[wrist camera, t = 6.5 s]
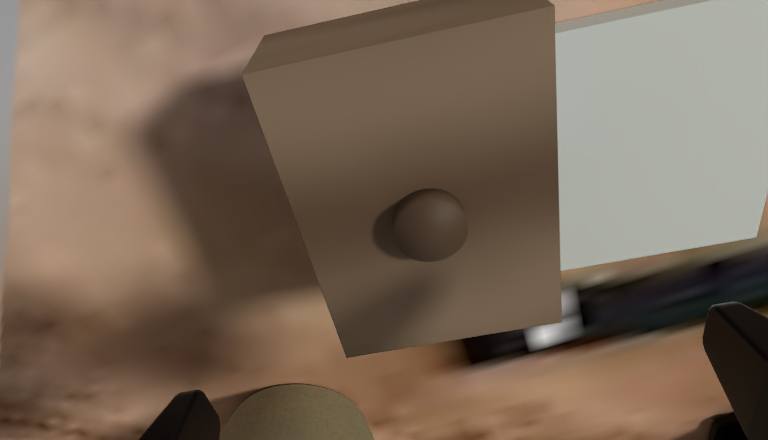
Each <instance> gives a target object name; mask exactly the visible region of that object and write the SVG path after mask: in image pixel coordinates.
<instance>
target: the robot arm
mask: <svg viewBox="0 0 768 440" xmlns="http://www.w3.org/2000/svg"><path fill="white" fill-rule="evenodd" d="M703 346H704V349H705V352H706V354H707V356H708V358H709V360H710V362H711V364H712V367H713V369H714V371H715V373H716V375H717V377H718V379H719V381H720V383H721V385H722V387H723V389H724V392H725V394H726V396H727V398H728V400H729V402H730V404H731V406H732V408H733V410H734V412H735V414H736V415H729V416H723V417H719V418H717V419H716V420H714V422H713V425H712V429H711V433H710V437H709V440H768V318H767V317H765V316H763V315H762V314H760V313H758V312H756V311H754V310H753V309H751V308H749V307H747V306H745V305H743V304H741V303H738V302H728V303H722V304H716V305H712V306H711V307H710V308H709V310H708V314H707V319H706V324H705V328H704V333H703ZM219 438H220V420H219V417H218V414H217V413H216V411H215V409H214V408H213V406H212V405H211V403H210V402H209V400H208V398H207V397H206V395H205V394H204V393H203V392H202V391H200V390H193V391H187V392H182V393H179V394H178V395H176V396H175V397H174V398H173V399H172V401H171V402H170V403H169V404H168V405H167V407H166V408H165V409H164V410H163V411H162V413H161V414H160V415H159V416H158V417H157V418H156V420H155V421H154V422H153V423H152V424H151V426H150V427H149V428H148V429H147V430H146V432H145V433H144V434H143V435H142V436H141V437H140V439H139V440H219Z"/></svg>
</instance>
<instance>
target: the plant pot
mask: <svg viewBox="0 0 768 440" xmlns="http://www.w3.org/2000/svg"><path fill="white" fill-rule="evenodd" d="M219 440H374V438H373V436H372V433H371V431H370V429H369V427H368V425H367V423H366V421H365V419H364V416H363V414H362V412H361V411H360V410H359V408H358V407H357V406H356V405H355V404H354V403H353V402H352V401H351V400H349V399H348V398H346V397H345V396H343V395H342V394H340V393H337V392H335V391H333V390H330V389H327V388H323V387H319V386H314V385H305V384H290V385H280V386H274V387H270V388H267V389H264V390H262V391H259V392H257V393H255V394H253V395H252V396H250V397H248V398H247V399H246V400H244V401H243V402H242V403H241V404H240V405H239V406H238V408H237V409H236V410H235V412H234V413H233V414H232V415H231V417H230V418H229V420H228V421H227V422H226V424H225V425H224V427H223V428H222V429H221V431H220V438H219Z"/></svg>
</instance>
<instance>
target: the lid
mask: <svg viewBox="0 0 768 440" xmlns="http://www.w3.org/2000/svg"><path fill="white" fill-rule="evenodd" d="M242 77H243V80H244V83H245V85H246V88H247V91H248V93H249V96H250V99H251V101H252V104H253V107H254V109H255V112H256V115H257V118H258V120H259V123H260V126H261V128H262V131H263V134H264V136H265V139H266V142H267V145H268V147H269V150H270V153H271V155H272V158H273V161H274V163H275V166H276V169H277V171H278V174H279V177H280V180H281V182H282V185H283V188H284V190H285V193H286V196H287V198H288V201H289V204H290V206H291V209H292V212H293V215H294V217H295V220H296V223H297V225H298V228H299V231H300V233H301V236H302V239H303V242H304V244H305V247H306V250H307V252H308V255H309V258H310V260H311V263H312V266H313V268H314V271H315V274H316V277H317V279H318V282H319V285H320V287H321V290H322V293H323V295H324V298H325V301H326V303H327V306H328V309H329V312H330V314H331V317H332V320H333V322H334V325H335V328H336V330H337V333H338V336H339V339H340V341H341V344H342V347H343V349H344V352H345V355H346V357H347V358H348V357H354V356H360V355H366V354H372V353H378V352H384V351H390V350H396V349H403V348H409V347H415V346H421V345H427V344H433V343H439V342H445V341H451V340H457V339H463V338H469V337H475V336H481V335H487V334H493V333H499V332H505V331H511V330H517V329H523V328H529V327H535V326H541V325H547V324H553V323H559V322H562V308H561V265H560V222H559V179H558V136H557V93H556V50H555V7H554V5H553V4H552V3H551V2H549V1H548V0H418V1H414V2H410V3H405V4H401V5H396V6H392V7H388V8H383V9H379V10H374V11H370V12H366V13H361V14H357V15H352V16H348V17H344V18H339V19H335V20H330V21H326V22H322V23H317V24H313V25H308V26H304V27H300V28H295V29H291V30H286V31H282V32H278V33H273V34H269V35H264V37H263V39H262V40H261V42H260V44H259V46H258V47H257V49H256V51H255V52H254V54H253V56H252V58H251V59H250V61H249V63H248V65H247V66H246V68H245V70H244V71H243V73H242Z"/></svg>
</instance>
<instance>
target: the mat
mask: <svg viewBox="0 0 768 440" xmlns="http://www.w3.org/2000/svg"><path fill="white" fill-rule="evenodd" d="M555 50H556V93H557V136H558V179H559V222H560V265H561V271H563V270H569V269H574V268H580V267H586V266H592V265H598V264H603V263H609V262H615V261H621V260H627V259H633V258H638V257H644V256H650V255H656V254H662V253H667V252H673V251H679V250H685V249H691V248H697V247H702V246H708V245H714V244H720V243H726V242H731V241H737V240H743V239H749V238H755V237H757V233H758V229H759V225H760V221H761V217H762V213H763V209H764V205H765V201H766V197H767V192H768V0H663V1H658V2H653V3H649V4H644V5H639V6H635V7H630V8H625V9H621V10H616V11H611V12H607V13H602V14H597V15H593V16H588V17H583V18H579V19H574V20H569V21H565V22H560V23H555Z"/></svg>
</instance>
